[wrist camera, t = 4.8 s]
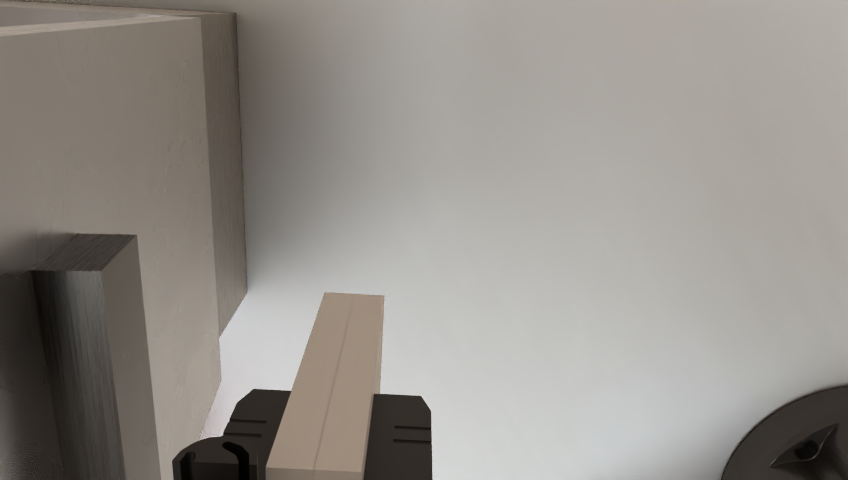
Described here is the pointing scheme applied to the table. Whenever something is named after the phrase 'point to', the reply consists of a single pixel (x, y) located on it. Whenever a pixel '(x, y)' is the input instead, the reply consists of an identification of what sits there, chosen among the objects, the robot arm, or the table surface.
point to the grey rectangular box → (219, 118)
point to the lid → (104, 249)
